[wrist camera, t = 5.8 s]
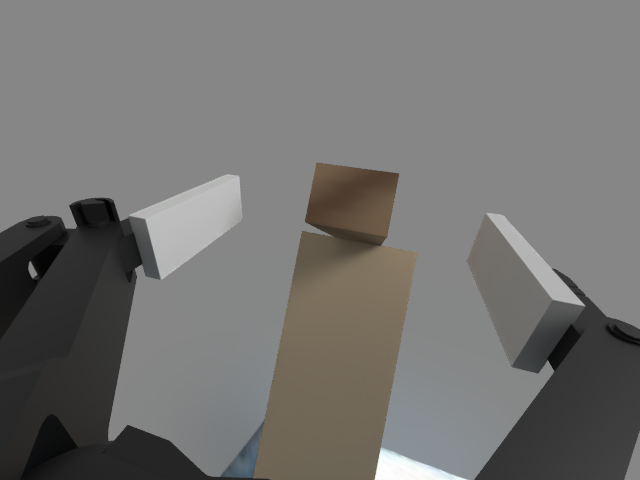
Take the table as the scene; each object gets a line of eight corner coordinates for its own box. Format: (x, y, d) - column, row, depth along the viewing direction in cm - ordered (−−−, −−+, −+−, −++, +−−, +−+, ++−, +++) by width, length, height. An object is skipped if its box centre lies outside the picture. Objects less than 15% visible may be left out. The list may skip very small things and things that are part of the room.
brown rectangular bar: (377, 250, 39) (381, 229, 39) (387, 236, 12) (399, 173, 12) (350, 244, 40) (354, 225, 40) (304, 221, 13) (316, 162, 13)
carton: (346, 549, 32) (402, 253, 33) (333, 698, 21) (417, 252, 22) (269, 516, 34) (324, 238, 35) (221, 637, 23) (302, 230, 24)
